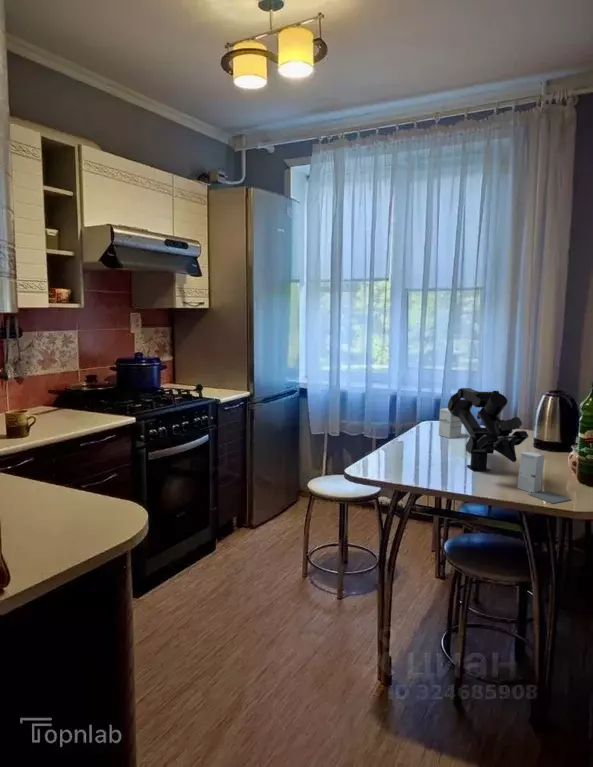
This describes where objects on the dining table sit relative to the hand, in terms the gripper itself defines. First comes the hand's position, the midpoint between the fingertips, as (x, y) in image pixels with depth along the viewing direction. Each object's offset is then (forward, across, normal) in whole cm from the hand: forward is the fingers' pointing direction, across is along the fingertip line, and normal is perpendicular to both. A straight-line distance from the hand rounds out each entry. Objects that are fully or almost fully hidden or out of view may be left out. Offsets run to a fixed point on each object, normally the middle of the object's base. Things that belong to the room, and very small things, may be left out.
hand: (514, 461), depth 186 cm
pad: (+16, 0, -5) cm, 16 cm away
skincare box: (+10, 0, +1) cm, 10 cm away
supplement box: (-41, +29, +52) cm, 72 cm away
